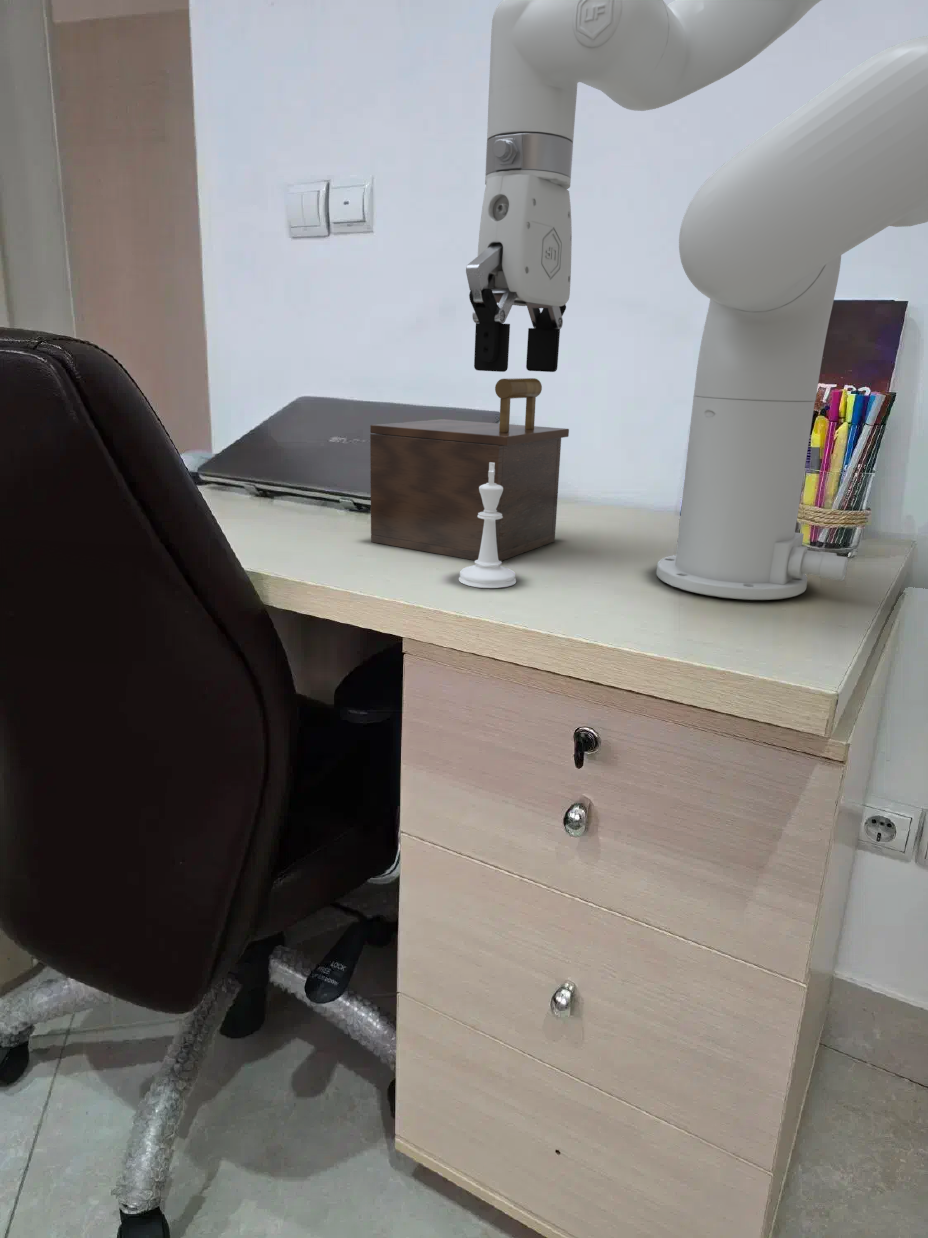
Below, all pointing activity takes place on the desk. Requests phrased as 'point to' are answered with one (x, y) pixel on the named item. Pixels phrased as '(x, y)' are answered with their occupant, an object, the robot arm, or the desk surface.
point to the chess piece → (488, 543)
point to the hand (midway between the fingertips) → (517, 370)
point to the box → (461, 494)
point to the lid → (483, 430)
